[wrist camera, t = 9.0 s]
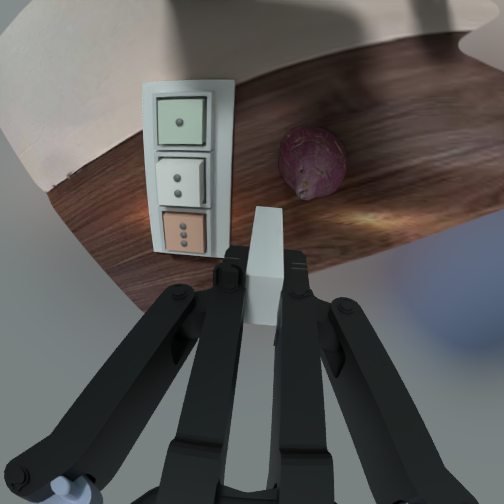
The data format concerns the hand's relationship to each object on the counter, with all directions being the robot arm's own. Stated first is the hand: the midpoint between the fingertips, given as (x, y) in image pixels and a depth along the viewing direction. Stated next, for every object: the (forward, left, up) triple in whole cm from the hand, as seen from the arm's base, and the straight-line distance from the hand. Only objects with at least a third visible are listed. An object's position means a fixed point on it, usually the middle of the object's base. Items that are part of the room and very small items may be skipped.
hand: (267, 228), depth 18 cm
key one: (-2, -13, -28) cm, 31 cm away
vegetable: (+3, +6, -30) cm, 30 cm away
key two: (+7, -13, -27) cm, 30 cm away
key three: (+16, -13, -28) cm, 35 cm away
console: (+7, -13, -29) cm, 33 cm away
